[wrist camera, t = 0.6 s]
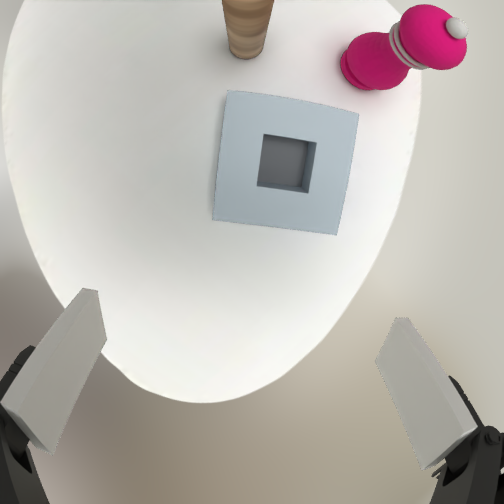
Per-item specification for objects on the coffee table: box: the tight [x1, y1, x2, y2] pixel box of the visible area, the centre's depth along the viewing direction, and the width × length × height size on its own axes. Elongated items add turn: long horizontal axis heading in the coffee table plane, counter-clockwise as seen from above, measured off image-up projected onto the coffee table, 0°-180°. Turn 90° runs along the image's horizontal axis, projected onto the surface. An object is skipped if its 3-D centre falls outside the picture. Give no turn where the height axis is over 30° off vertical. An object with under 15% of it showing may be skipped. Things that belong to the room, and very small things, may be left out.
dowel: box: [222, 0, 274, 59], centre depth 20 cm, size 4×4×17 cm
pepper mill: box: [341, 4, 468, 90], centre depth 19 cm, size 7×7×20 cm
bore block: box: [212, 90, 359, 235], centre depth 31 cm, size 14×14×5 cm
